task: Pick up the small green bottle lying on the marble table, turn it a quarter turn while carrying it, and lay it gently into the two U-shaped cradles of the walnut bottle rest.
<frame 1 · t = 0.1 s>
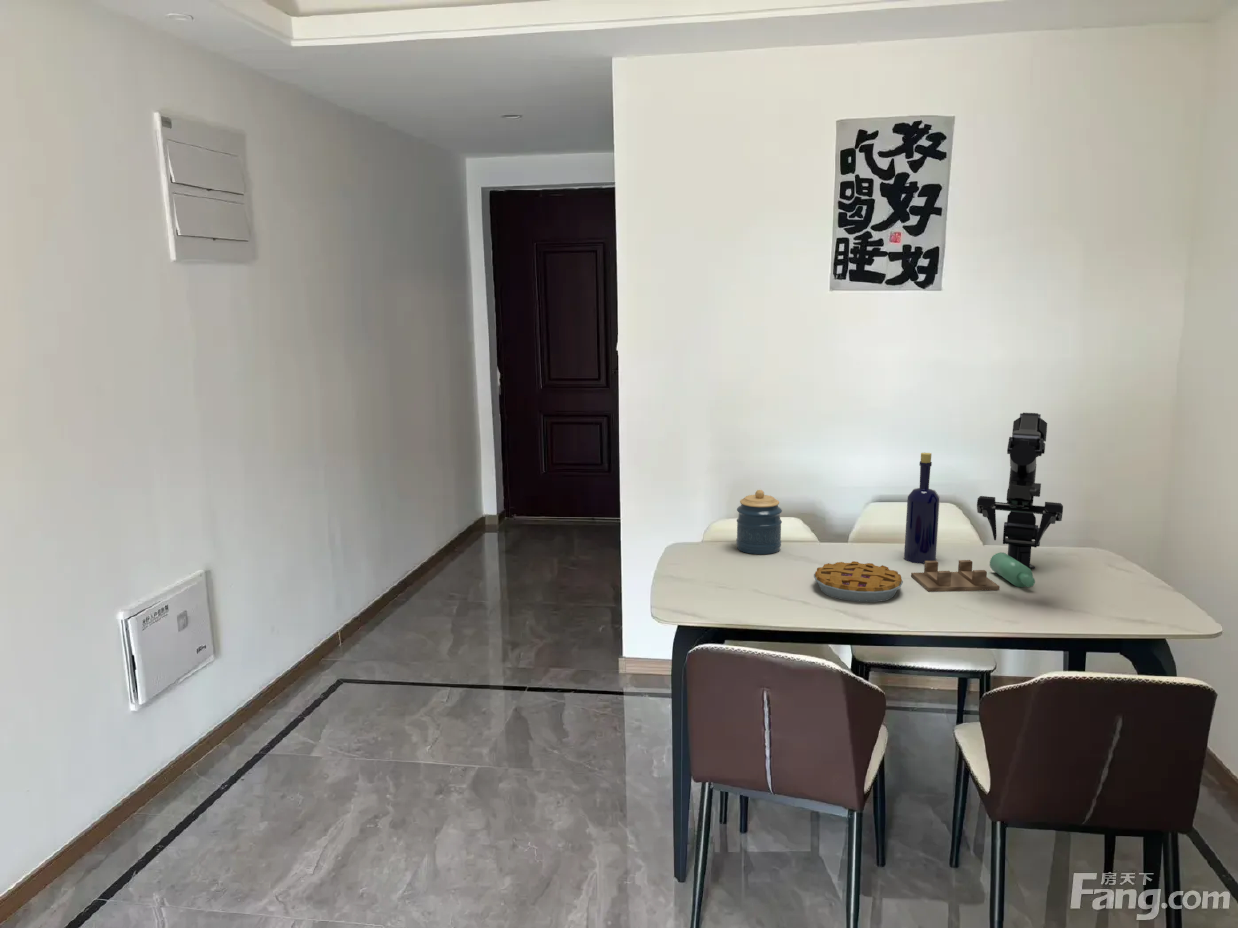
hand: (1015, 542, 211), 15 cm above the table, tool tilted 30°, fingers open, 9 cm apart
small bottle: (1009, 579, 230), on the table
pie: (857, 590, 224), on the table
bottle rest: (954, 582, 227), on the table
canister: (758, 549, 259), on the table
bottle: (920, 559, 248), on the table
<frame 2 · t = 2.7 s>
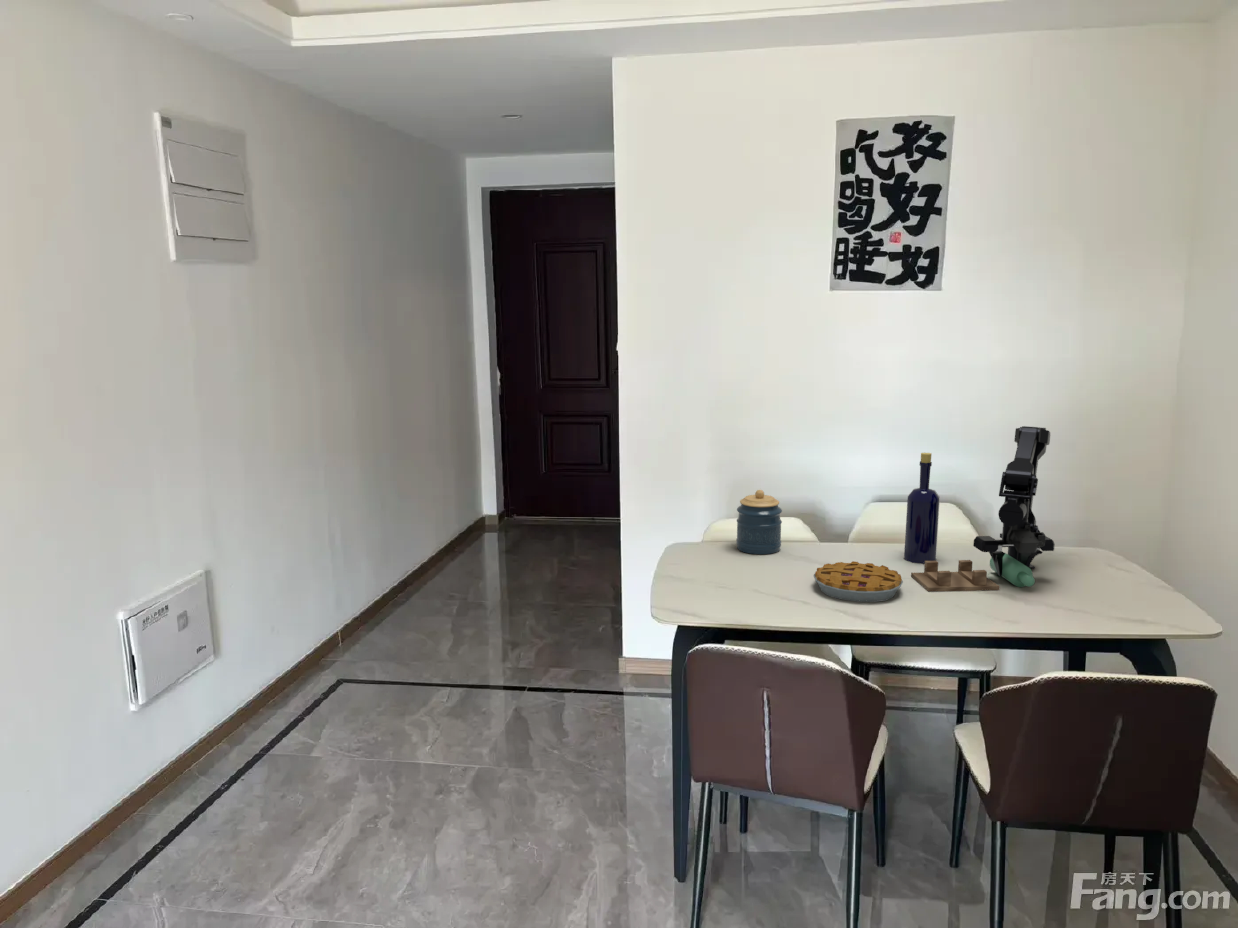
hand: (1011, 575, 229), 1 cm above the table, tool pointing down, fingers closed on small bottle, 6 cm apart
small bottle: (1009, 579, 230), on the table, touching gripper
everything else where it was.
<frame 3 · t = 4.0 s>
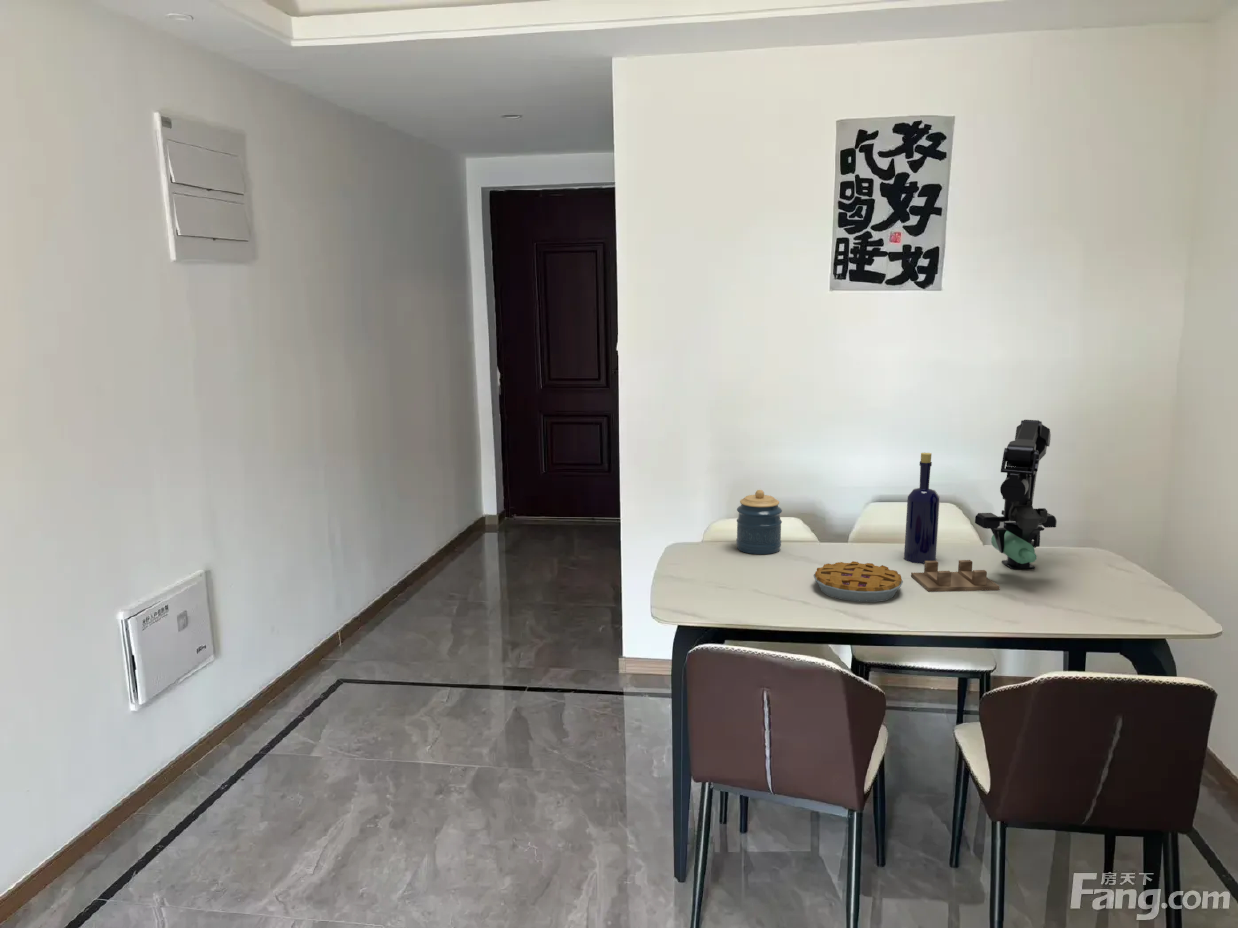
hand: (1012, 552, 228), 7 cm above the table, tool pointing down, fingers closed on small bottle, 6 cm apart
small bottle: (1011, 556, 229), point 6 cm above the table, touching gripper
everything else where it was.
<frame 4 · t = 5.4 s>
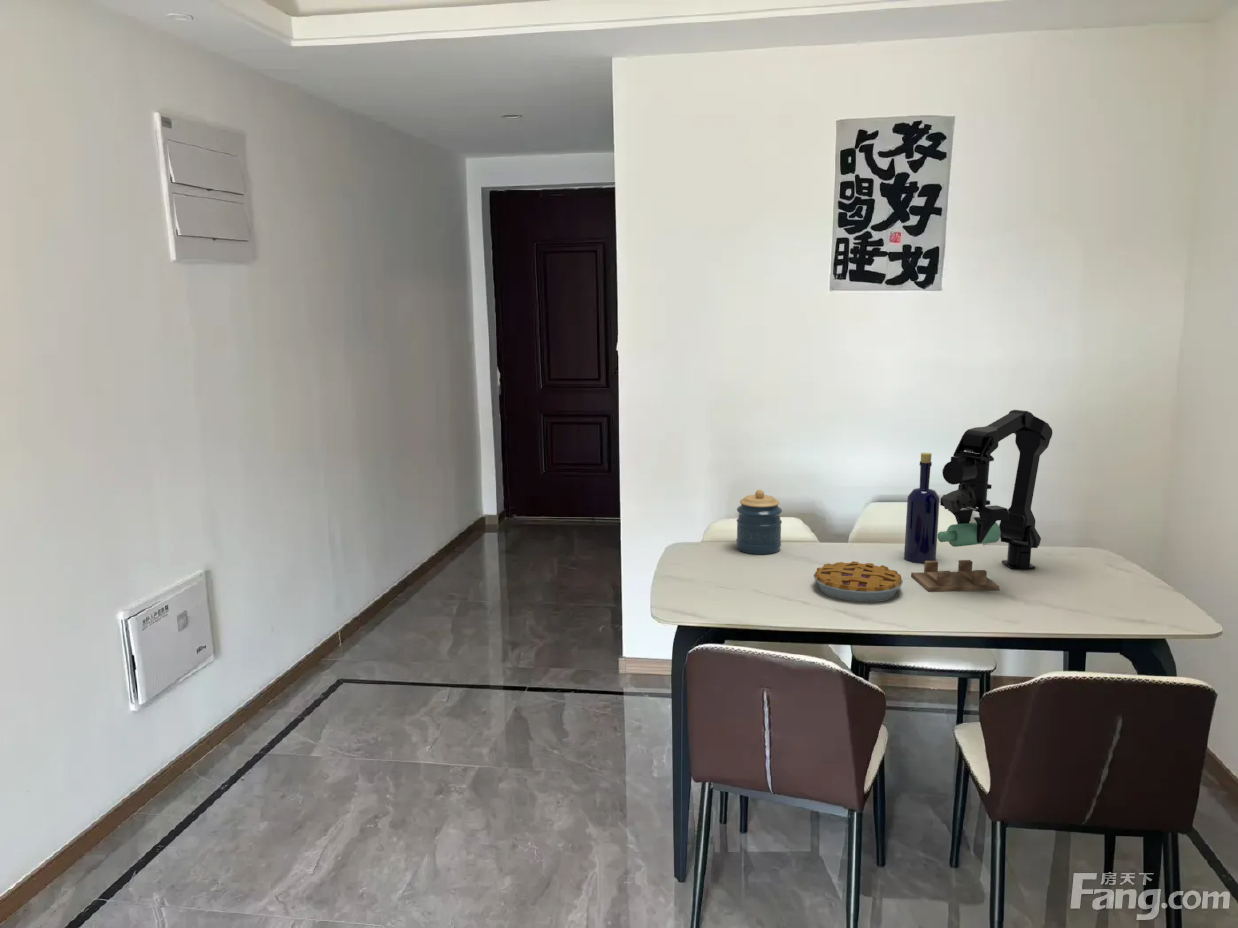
hand: (971, 539, 225), 11 cm above the table, tool pointing down, fingers closed on small bottle, 6 cm apart
small bottle: (972, 544, 226), point 10 cm above the table, touching gripper
everything else where it was.
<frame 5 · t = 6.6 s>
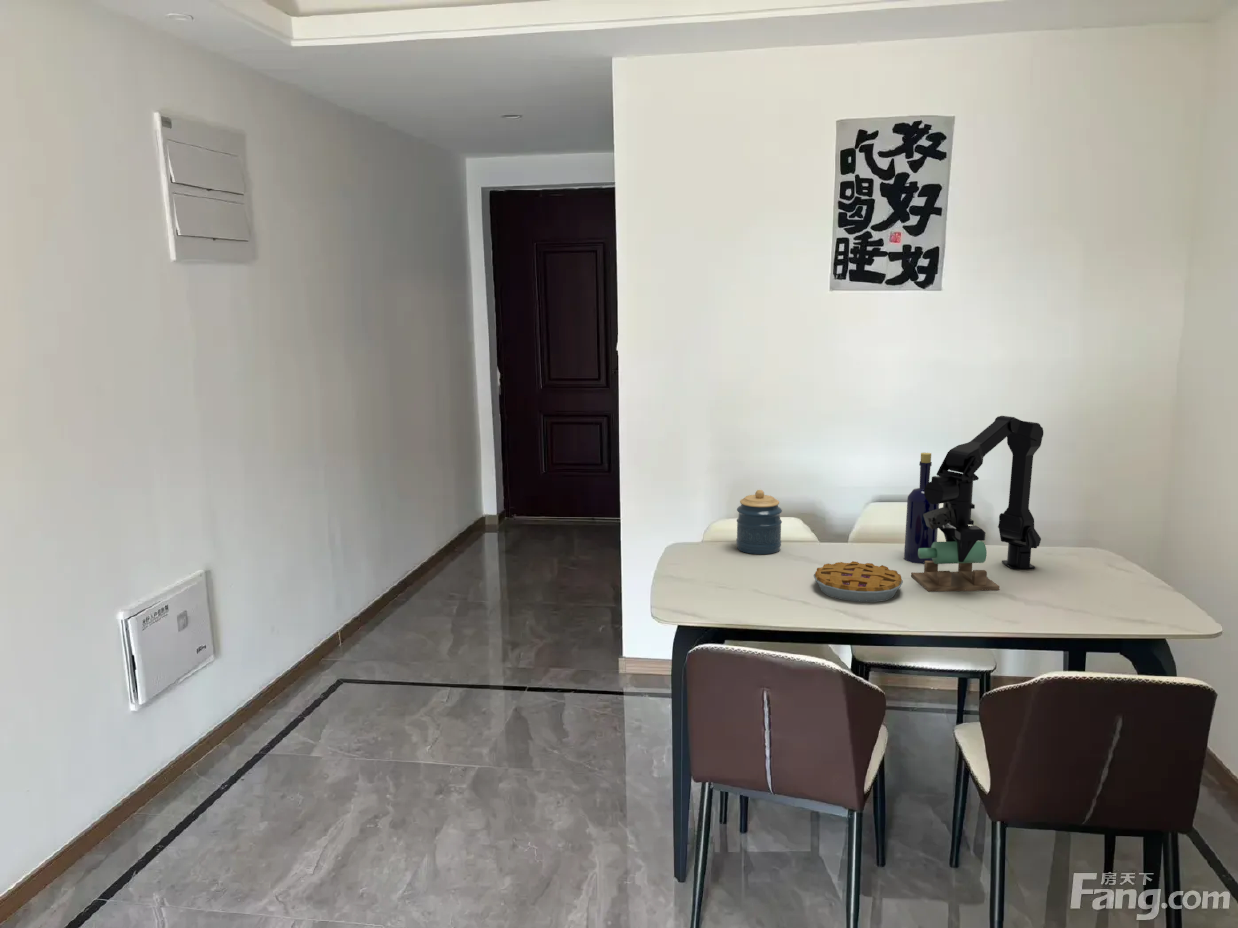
hand: (956, 558, 226), 7 cm above the table, tool pointing down, fingers closed on small bottle, 6 cm apart
small bottle: (957, 562, 226), point 5 cm above the table, touching gripper
everything else where it was.
when the fingers open (5 cm above the table, at t = 7.8 s): small bottle drops 2 cm, resting on bottle rest.
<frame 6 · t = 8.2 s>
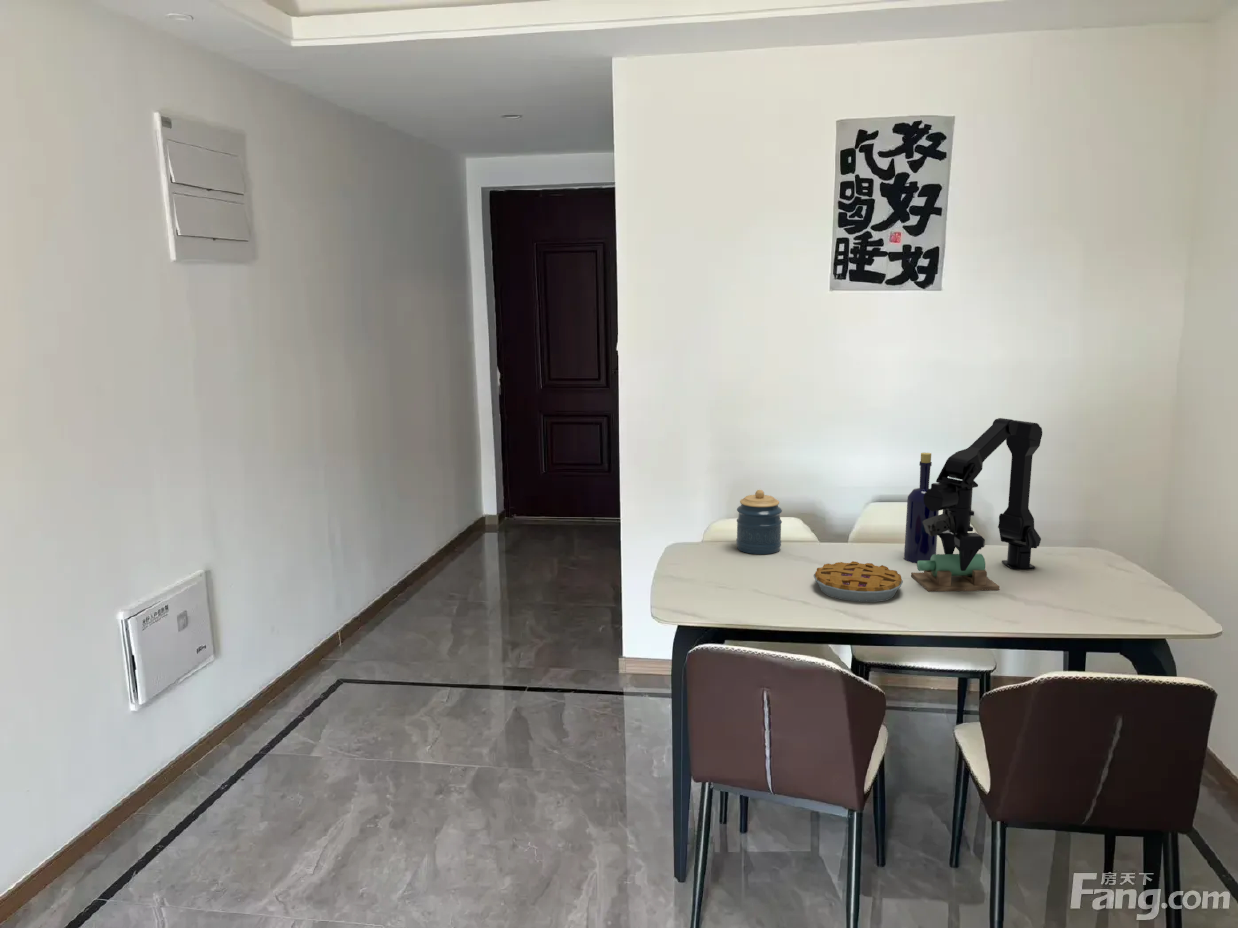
hand: (955, 565, 226), 5 cm above the table, tool pointing down, fingers open, 9 cm apart
small bottle: (956, 575, 227), point 2 cm above the table, touching bottle rest
everything else where it was.
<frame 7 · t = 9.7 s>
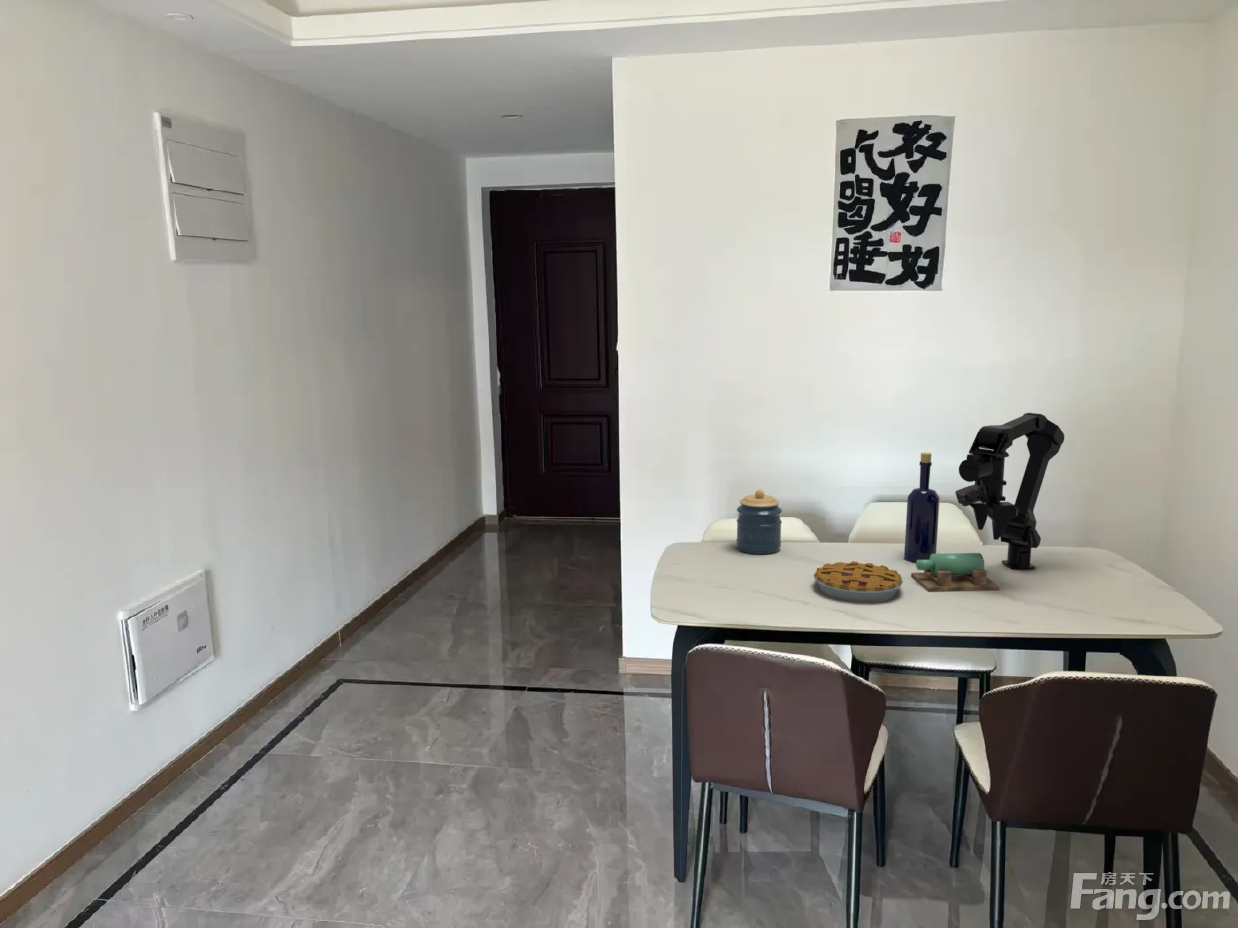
hand: (988, 534, 230), 12 cm above the table, tool pointing down, fingers open, 9 cm apart
small bottle: (956, 575, 227), point 2 cm above the table, tilted 13°, touching bottle rest
everything else where it was.
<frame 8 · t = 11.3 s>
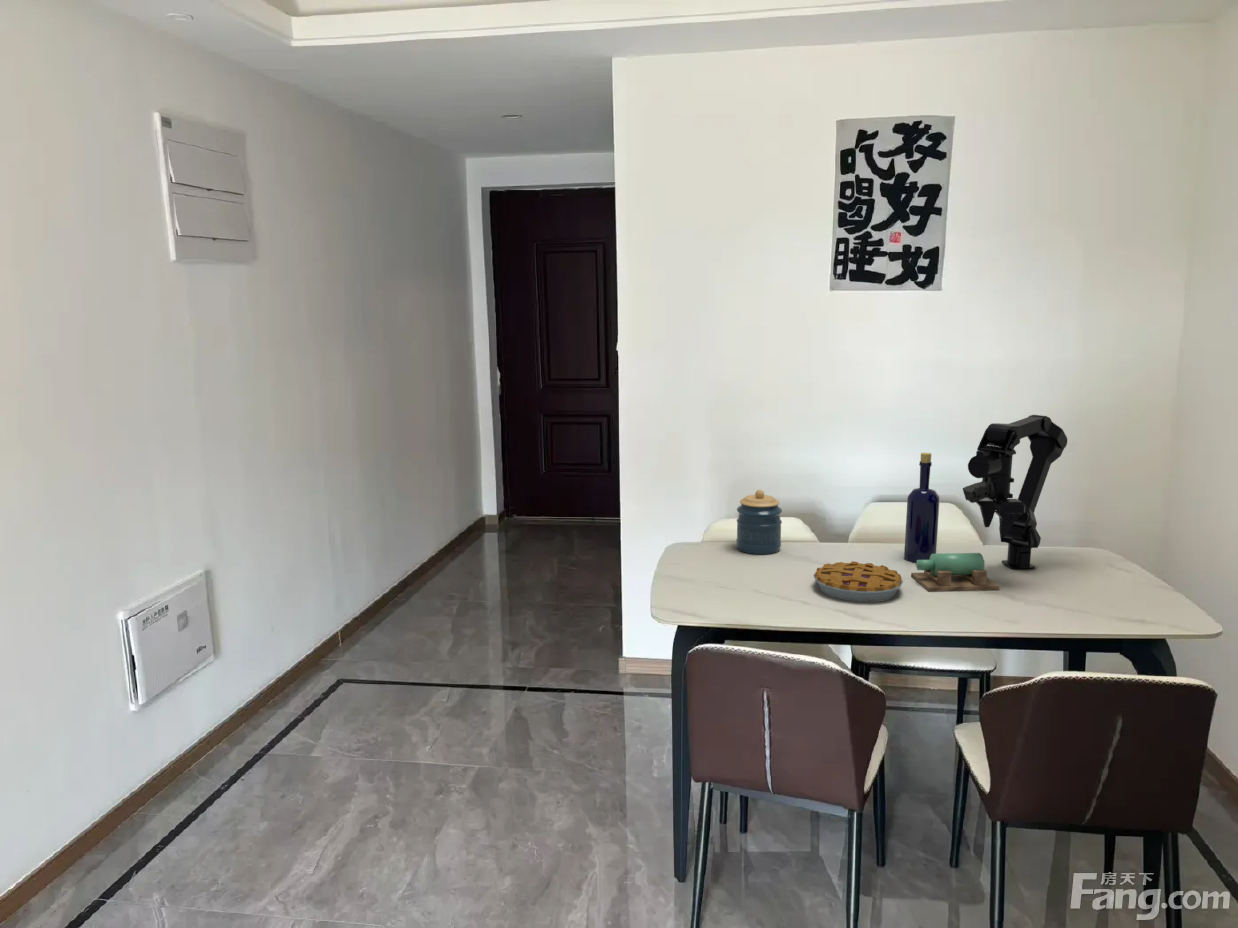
hand: (994, 531, 230), 12 cm above the table, tool pointing down, fingers open, 9 cm apart
nothing on the table moved.
at the end: small bottle 0.6 cm off-centre on the bottle rest, point 2.1 cm above the bottle rest's base; small bottle touching bottle rest; the gripper is holding nothing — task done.
